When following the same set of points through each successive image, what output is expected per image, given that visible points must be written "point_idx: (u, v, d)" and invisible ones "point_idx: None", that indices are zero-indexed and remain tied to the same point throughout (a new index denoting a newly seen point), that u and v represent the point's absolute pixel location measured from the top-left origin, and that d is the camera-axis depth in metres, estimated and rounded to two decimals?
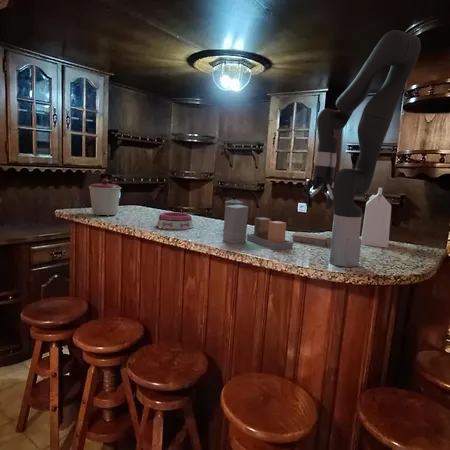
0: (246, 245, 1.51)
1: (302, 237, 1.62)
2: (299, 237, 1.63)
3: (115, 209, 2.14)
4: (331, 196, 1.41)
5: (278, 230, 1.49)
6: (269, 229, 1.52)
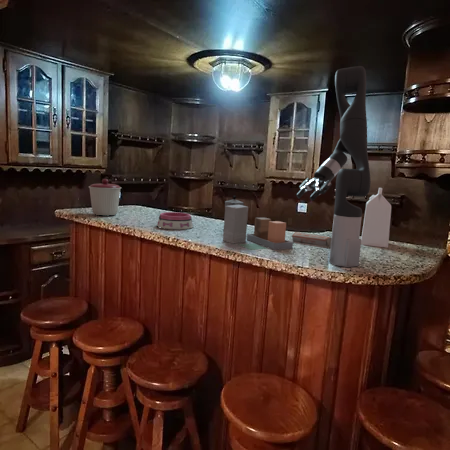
0: (246, 245, 1.51)
1: (302, 237, 1.62)
2: (299, 237, 1.63)
3: (115, 209, 2.14)
4: (316, 188, 1.53)
5: (278, 230, 1.49)
6: (269, 229, 1.52)
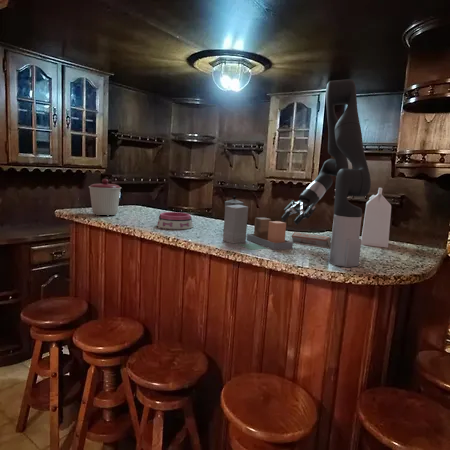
0: (246, 245, 1.51)
1: (303, 238, 1.61)
2: (299, 237, 1.62)
3: (115, 209, 2.14)
4: (301, 212, 1.51)
5: (278, 230, 1.49)
6: (269, 229, 1.52)
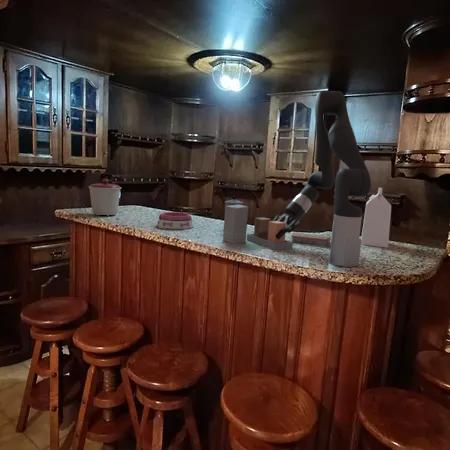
0: (246, 245, 1.51)
1: (303, 238, 1.61)
2: (299, 238, 1.61)
3: (115, 209, 2.14)
4: (283, 226, 1.50)
5: (278, 230, 1.49)
6: (269, 229, 1.52)
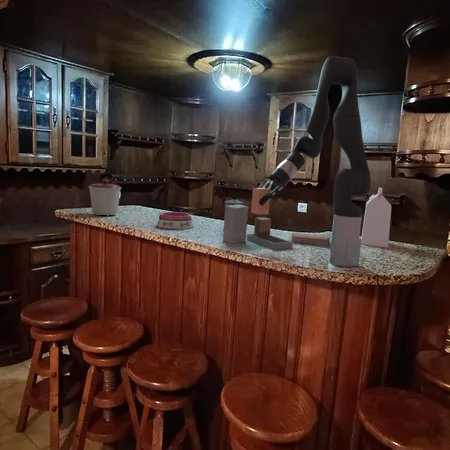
0: (246, 245, 1.51)
1: (303, 238, 1.60)
2: (300, 238, 1.61)
3: (115, 209, 2.14)
4: (267, 192, 1.46)
5: (261, 196, 1.45)
6: (253, 196, 1.49)
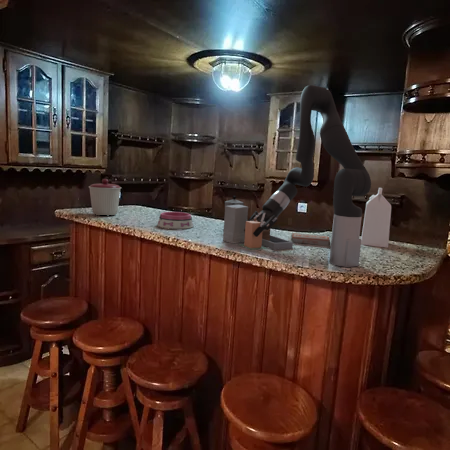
0: None
1: (304, 238, 1.59)
2: (300, 238, 1.60)
3: (115, 209, 2.14)
4: (261, 224, 1.46)
5: (254, 230, 1.46)
6: (246, 229, 1.49)
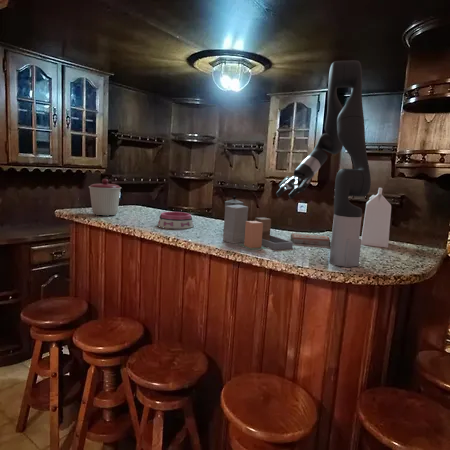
0: None
1: (305, 239, 1.59)
2: (301, 239, 1.59)
3: (115, 209, 2.14)
4: (295, 186, 1.50)
5: (254, 230, 1.46)
6: (246, 229, 1.49)
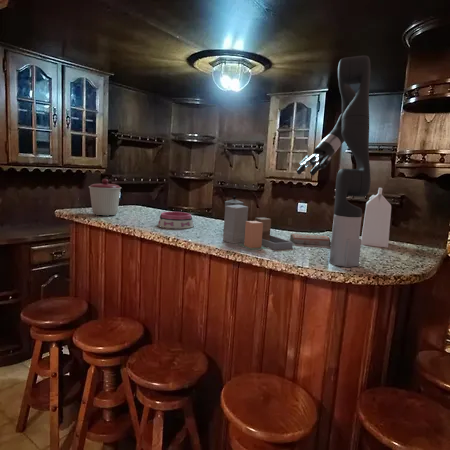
0: None
1: (305, 239, 1.58)
2: (302, 239, 1.58)
3: (115, 209, 2.14)
4: (317, 163, 1.52)
5: (254, 230, 1.46)
6: (246, 229, 1.49)
